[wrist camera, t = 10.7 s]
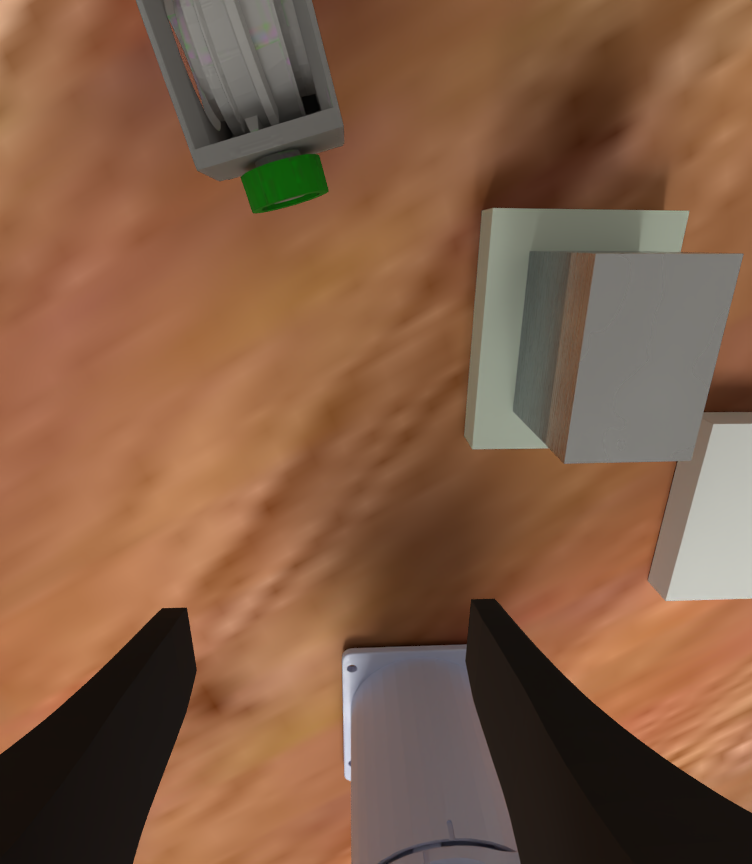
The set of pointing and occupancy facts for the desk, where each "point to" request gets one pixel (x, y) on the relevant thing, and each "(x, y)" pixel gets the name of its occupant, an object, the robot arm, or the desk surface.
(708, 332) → the block
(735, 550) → the stand
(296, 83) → the mechanical component
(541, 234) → the stand
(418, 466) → the desk surface
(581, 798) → the robot arm
